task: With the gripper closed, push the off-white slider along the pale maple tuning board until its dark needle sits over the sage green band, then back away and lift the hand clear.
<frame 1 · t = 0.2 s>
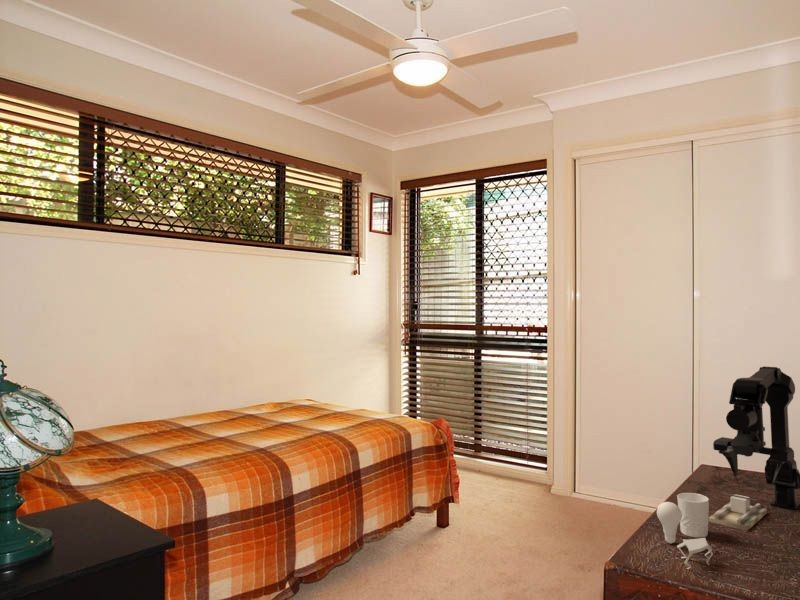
hand: (753, 479, 159), 14 cm above the table, tool pointing down, fingers open, 9 cm apart
tuning slider: (740, 503, 170), point 4 cm above the table, slide at 0.0 cm
lightbulb: (670, 543, 153), on the table
tuning board: (738, 517, 169), on the table
white cup: (694, 533, 159), on the table
origami figure: (694, 564, 141), on the table
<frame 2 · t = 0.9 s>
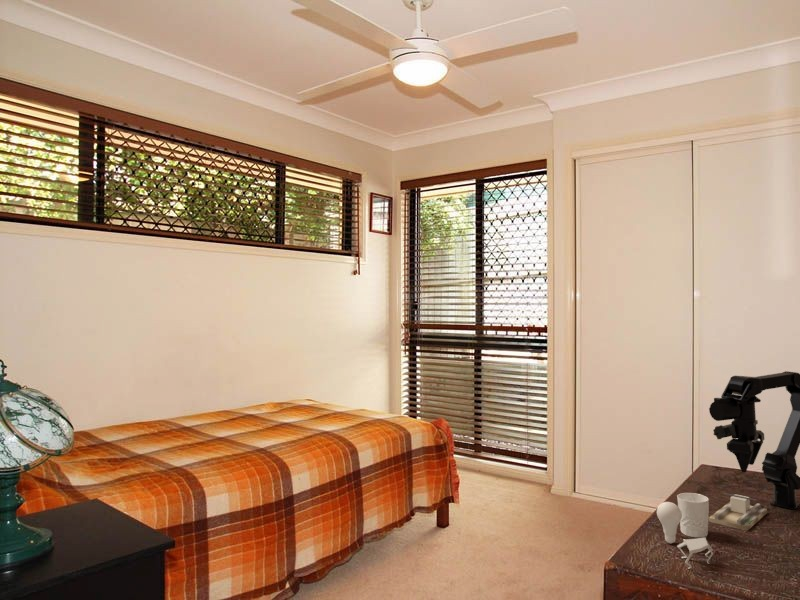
hand: (747, 468, 174), 13 cm above the table, tool pointing down, fingers open, 9 cm apart
nothing on the table moved.
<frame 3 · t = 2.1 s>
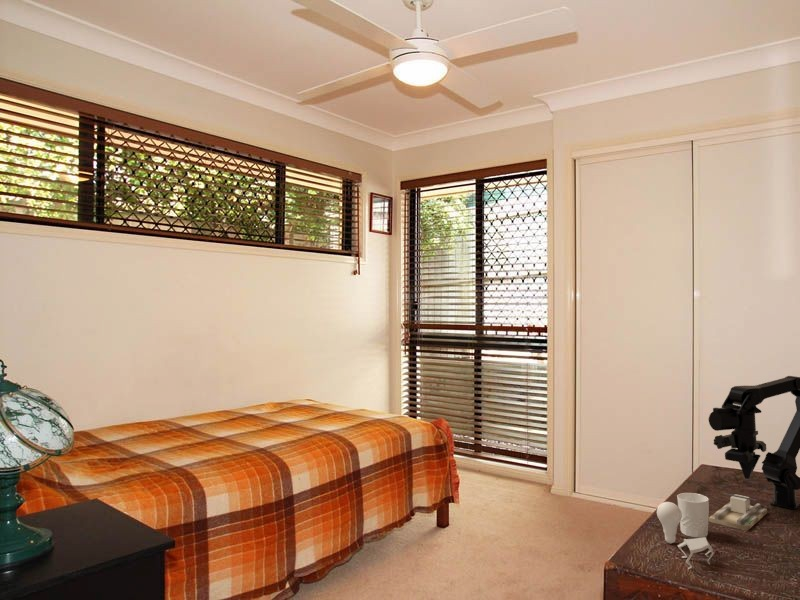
hand: (747, 478, 175), 9 cm above the table, tool pointing down, fingers closed
nothing on the table moved.
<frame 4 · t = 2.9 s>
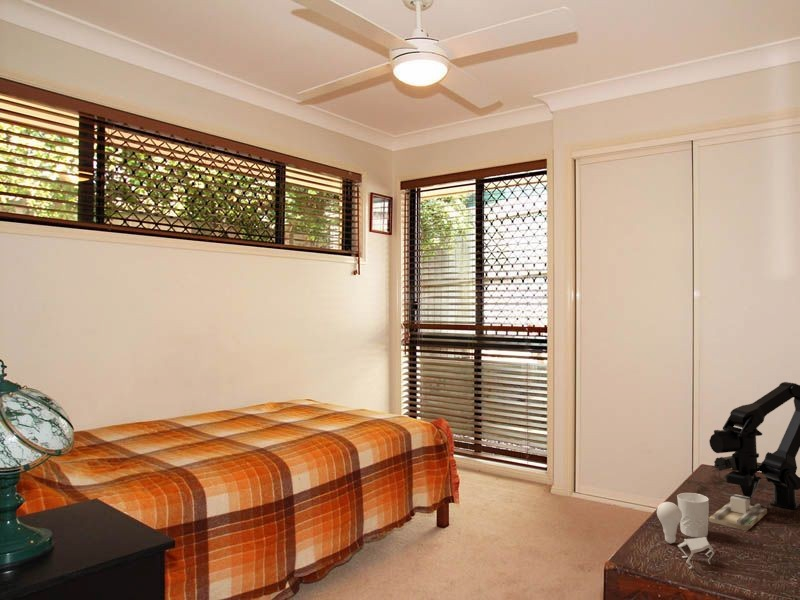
hand: (747, 500, 175), 3 cm above the table, tool pointing down, fingers closed
nothing on the table moved.
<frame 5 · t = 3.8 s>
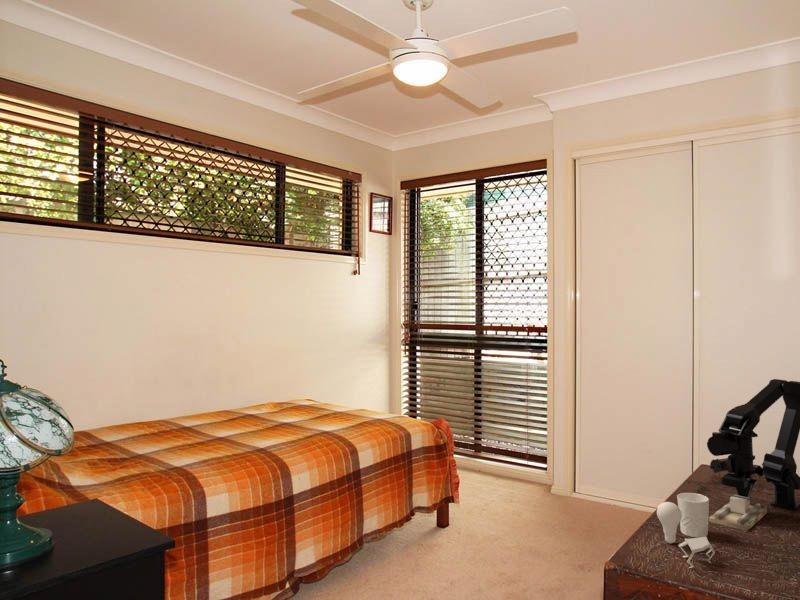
hand: (743, 503, 172), 3 cm above the table, tool pointing down, fingers closed
tuning slider: (739, 503, 170), point 4 cm above the table, slide at 0.3 cm, touching gripper
everything else where it was.
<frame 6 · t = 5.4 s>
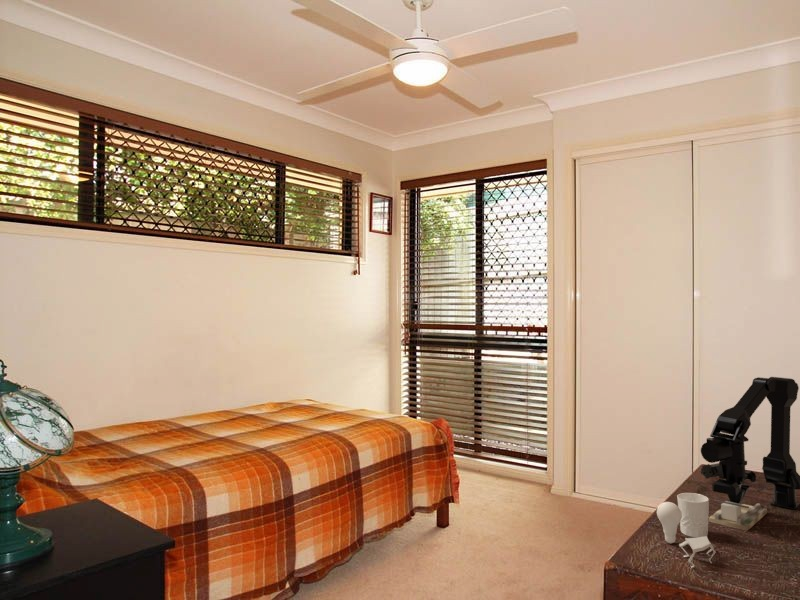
hand: (735, 510, 167), 3 cm above the table, tool pointing down, fingers closed
tuning slider: (731, 510, 165), point 4 cm above the table, slide at 7.7 cm, touching gripper
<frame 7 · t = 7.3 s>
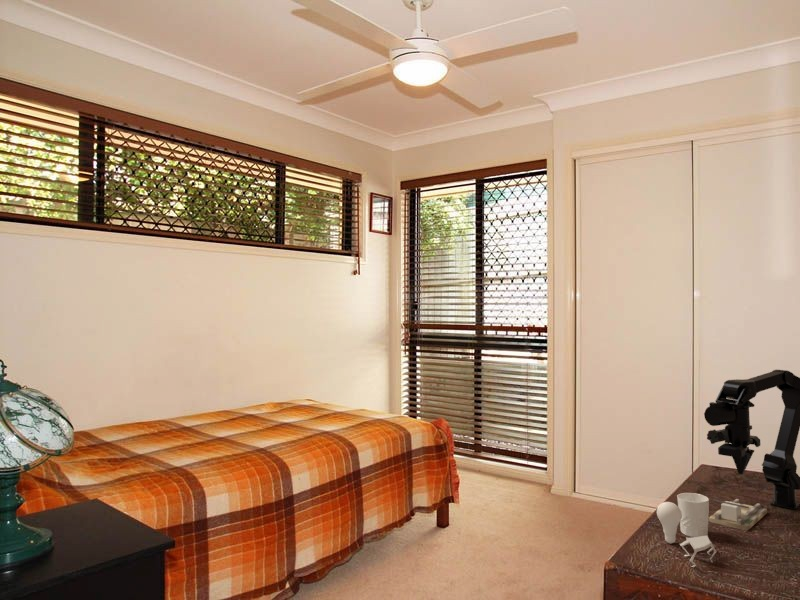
hand: (740, 473, 172), 12 cm above the table, tool pointing down, fingers closed
tuning slider: (731, 510, 165), point 4 cm above the table, slide at 7.7 cm
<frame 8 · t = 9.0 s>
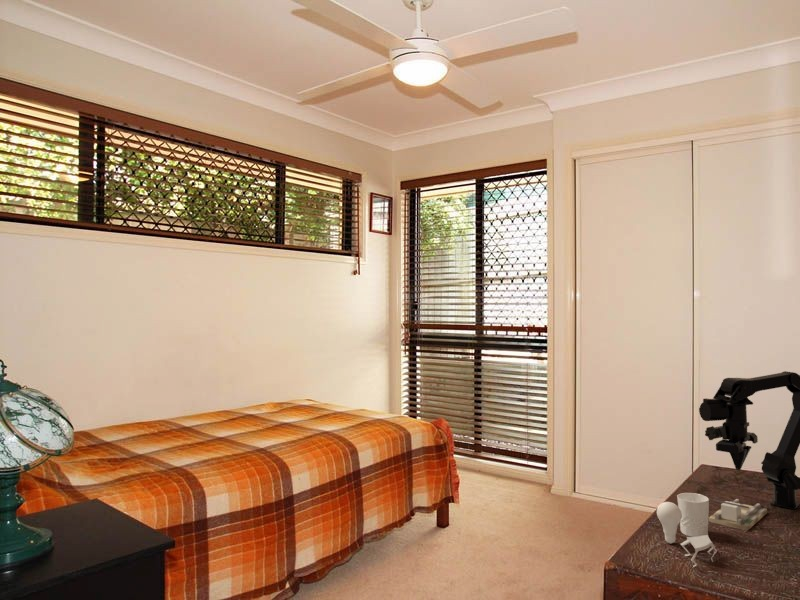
hand: (738, 469, 176), 12 cm above the table, tool pointing down, fingers closed
at the end: tuning slider slide at 7.7 cm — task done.
